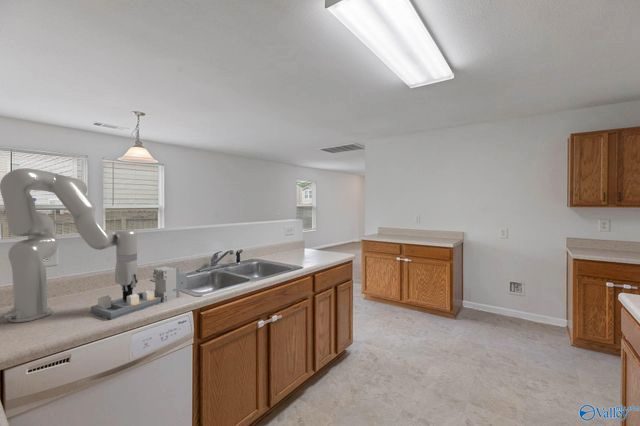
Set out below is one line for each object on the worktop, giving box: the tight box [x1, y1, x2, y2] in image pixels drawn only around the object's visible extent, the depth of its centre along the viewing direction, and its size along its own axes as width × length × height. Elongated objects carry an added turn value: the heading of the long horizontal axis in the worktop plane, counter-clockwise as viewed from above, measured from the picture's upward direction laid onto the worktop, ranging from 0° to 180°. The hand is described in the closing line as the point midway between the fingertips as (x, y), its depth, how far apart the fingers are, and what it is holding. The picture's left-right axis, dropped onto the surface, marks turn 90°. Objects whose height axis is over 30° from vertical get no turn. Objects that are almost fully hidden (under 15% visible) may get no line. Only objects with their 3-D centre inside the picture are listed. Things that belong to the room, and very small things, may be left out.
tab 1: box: [97, 295, 112, 309], centre depth 120 cm, size 4×3×5 cm
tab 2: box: [127, 293, 139, 305], centre depth 123 cm, size 4×3×5 cm
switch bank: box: [90, 291, 162, 320], centre depth 125 cm, size 21×15×3 cm
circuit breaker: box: [152, 265, 188, 303], centre depth 139 cm, size 8×14×15 cm, turn 155°
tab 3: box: [142, 288, 155, 300], centre depth 129 cm, size 4×3×5 cm
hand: (127, 299), depth 125 cm, fingers closed
